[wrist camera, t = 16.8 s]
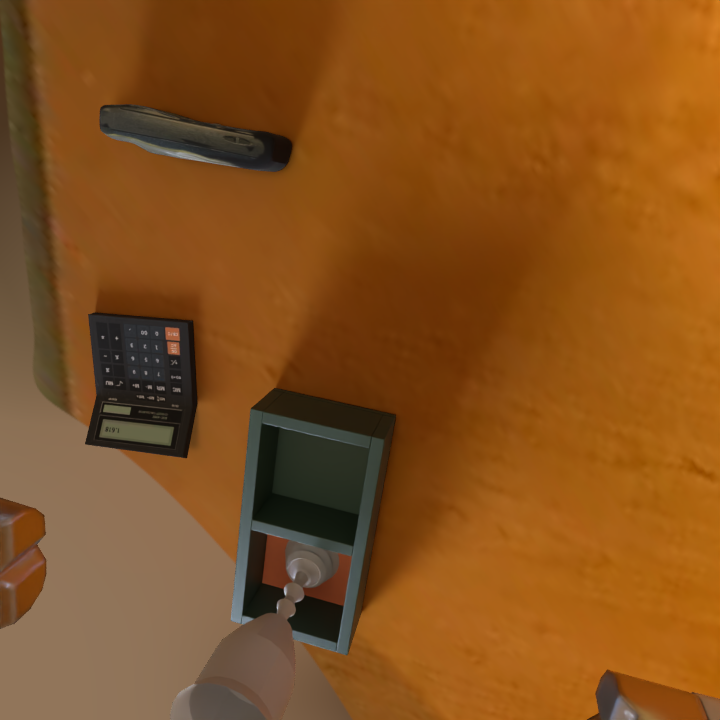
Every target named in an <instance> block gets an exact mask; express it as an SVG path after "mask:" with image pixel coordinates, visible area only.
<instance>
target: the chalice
mask: <svg viewBox="0 0 720 720" xmlns="http://www.w3.org/2000/svg"><path fill="white" fill-rule="evenodd" d="M285 560H286V571H287V574H288V576H289V577H290V579H291V580H292V581H293V582H292V583H288V584H286V586H285V587H284V593H285V596H286V597H285V598H284V599H281V600H279V601H278V602H277V614H275V613H267V614H264V615H262V616H260V617H258V618H256V619H254V620H251V621H249V622H247V623H245V624H244V625H242V626H241V627H239V628H238V629H236V630H235V631H233V632H232V633H231V634H229V635H228V636H227V637H225V638H224V639H222V641H221V642H220V644H219V645H218V646H217V648H216V649H215V651H214V653H213V654H212V656H211V657H210V659H209V661H208V662H207V664H206V665H205V667H204V669H203V671H202V672H201V674H200V675H199V677H198V678H197V680H196V682H195V683H194V684H193V685H191V686H190V687H188V688H186V689H184V690H182V691H181V692H180V693H179V694H178V696H177V697H176V698H175V700H174V701H173V703H172V709H171V714H170V719H171V720H281V719H282V717H283V715H284V712H285V709H286V707H287V705H288V702H289V700H290V697H291V695H292V691H293V688H294V685H295V650H294V642H293V633H292V628H291V626H290V624H289V622H288V621H287V619H288V618H289V617H291V616H293V615H294V614H295V611H296V608H295V602H299V601H301V600H302V599H303V598H304V591H303V587H305V588H314V587H317V586H319V585H321V584H322V583H323V582H325V581H327V580H328V579H330V578H332V577H333V576H334V574H335V573H336V572H337V570H338V567H339V556H338V553H337V552H333V551H329V550H325V549H322V548H318V547H314V546H310V545H307V544H303V543H299V542H296V541H292V540H289V541H288V543H287V545H286V549H285Z"/></svg>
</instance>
